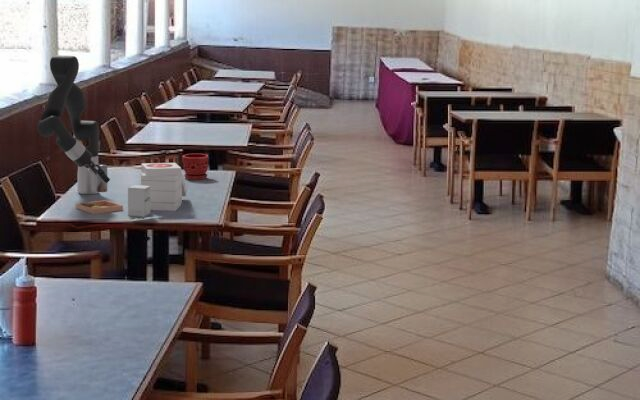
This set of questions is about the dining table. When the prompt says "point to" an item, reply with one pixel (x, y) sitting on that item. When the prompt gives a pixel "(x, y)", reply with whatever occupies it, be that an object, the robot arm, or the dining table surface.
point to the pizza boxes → (164, 185)
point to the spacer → (101, 180)
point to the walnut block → (88, 204)
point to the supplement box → (139, 200)
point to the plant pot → (195, 166)
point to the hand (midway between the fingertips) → (105, 180)
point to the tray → (105, 207)
